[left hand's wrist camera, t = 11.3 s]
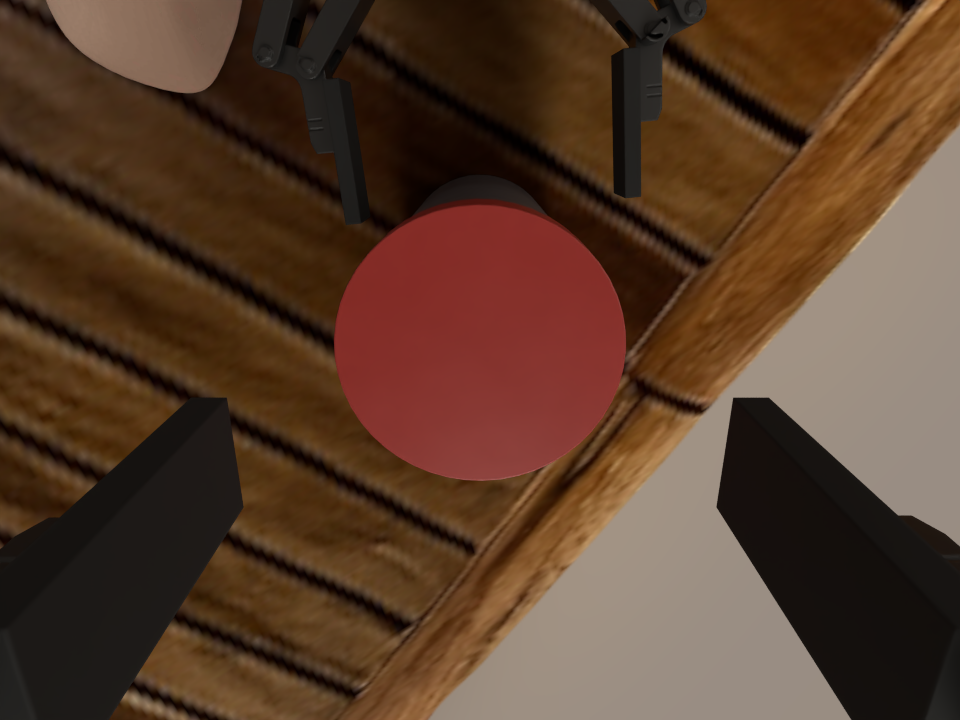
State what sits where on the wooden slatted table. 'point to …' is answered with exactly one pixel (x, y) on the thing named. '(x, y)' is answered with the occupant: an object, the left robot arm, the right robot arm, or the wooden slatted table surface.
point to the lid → (480, 340)
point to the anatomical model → (153, 38)
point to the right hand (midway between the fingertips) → (491, 208)
